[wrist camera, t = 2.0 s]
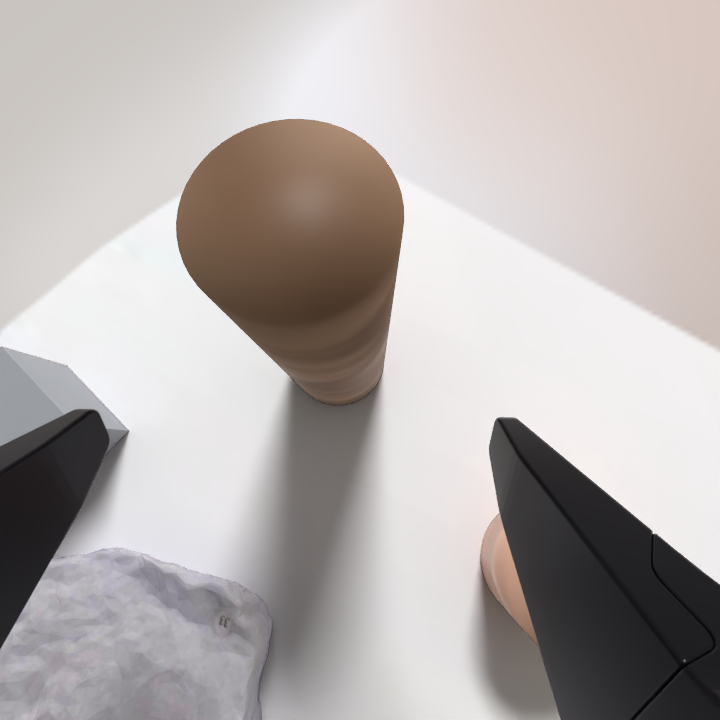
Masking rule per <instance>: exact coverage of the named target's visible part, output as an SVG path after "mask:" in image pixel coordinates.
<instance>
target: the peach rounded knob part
mask: <svg viewBox="0 0 720 720" xmlns="http://www.w3.org/2000/svg"><path fill="white" fill-rule="evenodd" d="M481 565H482V571H483V574H484V578H485V580H486V582H487V585H488V587H489V588H490V590H491V592H492V593H493V595H494V596H495V597H496V599H497V600H498V601H499V602H500V603H501V605H502V606H503V607H504V608H505V609H506V610H507V611H508V613H509V614H510V615H511V616H512V617H513V618H514V619H515V621H516V622H517V623H518V624H519V625H520V626H521V627H522V629H523V630H524V631H525V632H526V633H527V634H528V636H529V637H530V638H531V639H532V640H533V641H534V642H535V643H536V644H537V645H538V642H537V638H536V635H535V632H534V628H533V625H532V622H531V618H530V615H529V612H528V608H527V605H526V602H525V598H524V595H523V592H522V588H521V585H520V582H519V578H518V575H517V571H516V568H515V565H514V561H513V558H512V555H511V551H510V548H509V545H508V541H507V538H506V535H505V531H504V528H503V524H502V521H501V517H500V513H499V514H498V515H497V516H496V517H495V518H494V519H493V520H492V522H491V523H490V525H489V526H488V528H487V530H486V532H485V535H484V538H483V541H482V546H481ZM538 646H539V645H538Z"/></svg>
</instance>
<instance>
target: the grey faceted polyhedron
mask: <svg viewBox="0 0 720 720" xmlns="http://www.w3.org/2000/svg"><path fill="white" fill-rule="evenodd" d="M75 409H95V410H97V411H98V412H99V413H100V415H101V418H102V420H103V422H104V424H105V427H106V429H107V431H108V434H109V437H110V442H109V446H108V449H107V451H106V453H105V455H106V454H107V453H108V452H109V451H110V450H111V449H112V448H113V447H114V446H115V445H116V444H117V443H118V442H119V441H120V440H121V439H122V438H123V437H124V436H125V435H126V434H127V433H128V432H129V430H128V429H127V428H126V427H125V426H124V425H123V424H122V423H121V422H120V421H119V420H118V418H117V417H116V416H115V415H114V414H113V413H112V412H111V411H110V410H109V409H108V408H107V407H106V406H105V405H104V404H103V403H102V402H101V401H100V400H99V399H98V398H97V396H96V395H95V394H94V393H93V392H92V391H91V390H90V389H89V388H88V387H87V386H86V385H85V384H84V383H83V382H82V381H81V380H80V379H79V378H78V377H77V376H76V374H75V373H74V372H73V371H72V370H71V369H70V368H69V367H68V366H67V365H63V364H60V363H56V362H53V361H50V360H46V359H43V358H39V357H36V356H32V355H29V354H26V353H22V352H19V351H15V350H12V349H8V348H5V347H2V346H1V347H0V446H2V445H4V444H6V443H8V442H10V441H12V440H14V439H16V438H18V437H20V436H22V435H24V434H26V433H28V432H30V431H32V430H34V429H36V428H38V427H40V426H42V425H44V424H46V423H48V422H50V421H52V420H54V419H56V418H58V417H60V416H62V415H64V414H66V413H68V412H70V411H72V410H75Z"/></svg>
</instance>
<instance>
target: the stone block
mask: <svg viewBox="0 0 720 720" xmlns="http://www.w3.org/2000/svg"><path fill="white" fill-rule="evenodd" d="M271 631H272V617H271V615H270V614H269V612H268V609H267V606H266V604H265V603H264V601H263V600H262V599H261V598H260V597H259V596H257V595H256V594H253V593H251V592H250V591H249V590H247V589H246V588H244V587H243V586H241V585H240V584H238V583H236V582H231V581H229V580H226V579H223V578H219V577H215V576H212V575H207V574H203V573H199V572H196V571H192V570H187V569H186V568H185V567H181V566H179V565H177V564H174V563H166V562H162V561H159V560H156V559H154V558H152V557H150V556H149V555H147V554H141V553H137V552H133V551H129V550H126V549H122V548H112V549H101V550H98V551H95V552H93V553H90V554H87V555H73V556H69V557H63V558H57V559H54V558H52V560H51V562H50V563H49V565H48V567H47V569H46V570H45V572H44V574H43V576H42V577H41V579H40V581H39V583H38V584H37V586H36V588H35V590H34V592H33V593H32V595H31V597H30V599H29V600H28V602H27V604H26V606H25V607H24V609H23V611H22V613H21V614H20V616H19V618H18V620H17V621H16V623H15V625H14V627H13V628H12V630H11V632H10V634H9V635H8V637H7V639H6V641H5V642H4V644H3V646H2V648H1V649H0V720H262V713H261V703H260V701H259V698H258V697H259V683H260V679H261V675H262V671H263V667H264V664H265V662H266V659H267V656H268V650H269V640H270V636H271Z"/></svg>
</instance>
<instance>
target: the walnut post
mask: <svg viewBox="0 0 720 720" xmlns="http://www.w3.org/2000/svg"><path fill="white" fill-rule="evenodd" d="M403 225H404V206H403V200H402V194H401V191H400V188H399V185H398V182H397V180H396V178H395V176H394V174H393V172H392V170H391V168H390V167H389V165H388V164H387V162H386V161H385V159H384V158H383V157H382V156H381V155H380V154H379V153H378V152H377V151H376V150H375V149H374V148H373V147H372V146H371V145H369V144H368V143H367V142H366V141H365V140H363V139H362V138H360V137H358V136H357V135H355V134H354V133H352V132H350V131H348V130H345V129H343V128H341V127H338V126H335V125H332V124H329V123H325V122H320V121H315V120H304V119H286V120H279V121H272V122H268V123H263V124H259V125H257V126H254V127H251V128H248V129H246V130H244V131H242V132H240V133H238V134H236V135H234V136H232V137H230V138H229V139H227V140H226V141H224V142H223V143H221V144H220V145H219V146H217V147H216V148H215V149H214V150H213V151H211V152H210V153H209V154H208V155H207V156H206V157H205V158H204V160H203V161H202V162H201V163H200V164H199V166H198V167H197V168H196V170H195V171H194V172H193V174H192V175H191V177H190V179H189V181H188V182H187V184H186V186H185V189H184V191H183V194H182V196H181V199H180V203H179V207H178V212H177V221H176V231H177V241H178V247H179V251H180V254H181V257H182V260H183V263H184V265H185V267H186V269H187V271H188V273H189V274H190V276H191V277H192V279H193V280H194V281H195V283H196V284H197V286H198V287H199V288H200V289H201V290H202V291H203V292H204V293H205V294H206V295H207V296H208V297H209V298H210V299H211V300H212V301H213V302H214V303H215V304H216V305H217V306H218V307H219V308H220V309H221V310H222V311H223V312H224V313H225V314H226V315H227V316H228V317H230V318H231V319H232V320H233V321H234V322H235V323H236V324H237V325H238V326H239V327H240V328H241V329H242V330H243V331H244V332H245V333H246V334H247V335H248V336H249V337H250V338H251V339H252V340H253V341H254V342H255V343H256V344H257V345H258V346H259V347H260V348H261V349H262V350H263V351H264V352H265V353H266V354H267V355H268V356H269V357H271V358H272V359H273V360H274V361H275V362H276V363H277V364H278V365H279V366H280V367H281V368H282V369H283V370H284V371H285V372H286V373H287V374H288V375H289V376H290V377H291V378H292V379H293V380H294V381H295V382H296V383H297V384H298V385H299V386H300V387H301V388H302V389H303V390H304V391H305V392H306V393H307V394H309V395H310V396H311V397H312V398H314V399H316V400H317V401H320V402H322V403H325V404H329V405H347V404H351V403H354V402H357V401H359V400H361V399H362V398H364V397H365V396H367V395H368V394H369V393H370V392H371V391H372V390H373V389H374V388H375V386H376V385H377V383H378V381H379V380H380V377H381V375H382V371H383V366H384V359H385V352H386V345H387V338H388V331H389V324H390V317H391V310H392V303H393V296H394V289H395V282H396V275H397V268H398V261H399V254H400V247H401V240H402V233H403Z"/></svg>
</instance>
